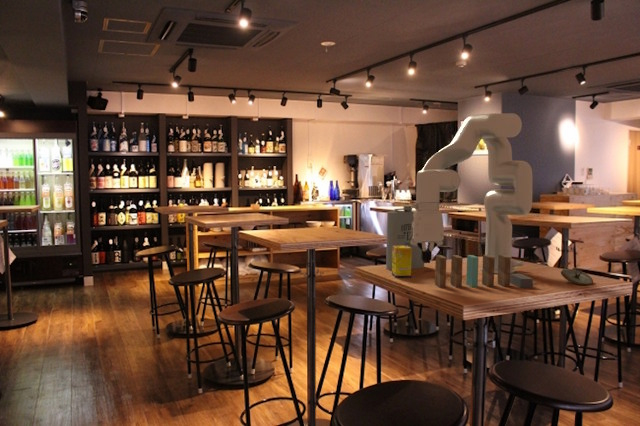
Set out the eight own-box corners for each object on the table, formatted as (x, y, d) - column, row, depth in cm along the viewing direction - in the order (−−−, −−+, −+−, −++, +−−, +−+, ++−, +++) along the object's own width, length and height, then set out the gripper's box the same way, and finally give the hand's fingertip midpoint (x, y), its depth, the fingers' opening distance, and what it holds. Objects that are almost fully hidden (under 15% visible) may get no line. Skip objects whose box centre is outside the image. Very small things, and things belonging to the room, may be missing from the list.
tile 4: (487, 283, 181) (488, 254, 180) (493, 287, 176) (494, 257, 175) (481, 283, 181) (482, 254, 180) (487, 287, 176) (488, 257, 175)
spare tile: (471, 284, 180) (472, 255, 179) (477, 287, 175) (478, 257, 174) (466, 284, 180) (467, 255, 179) (471, 287, 175) (472, 257, 174)
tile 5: (503, 283, 181) (504, 254, 180) (509, 286, 176) (510, 257, 175) (497, 283, 181) (498, 254, 180) (503, 286, 176) (504, 257, 175)
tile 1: (440, 284, 179) (441, 255, 178) (445, 287, 174) (446, 257, 173) (434, 284, 179) (435, 255, 178) (439, 287, 174) (440, 257, 173)
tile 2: (456, 284, 180) (457, 255, 179) (461, 287, 175) (462, 257, 174) (450, 284, 180) (451, 255, 179) (455, 287, 175) (456, 257, 174)
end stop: (519, 282, 184) (520, 273, 184) (532, 287, 175) (532, 278, 175) (508, 282, 184) (509, 273, 183) (521, 287, 175) (521, 278, 174)
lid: (577, 279, 190) (577, 265, 190) (600, 284, 181) (600, 270, 181) (554, 280, 187) (554, 266, 186) (576, 286, 177) (577, 272, 177)
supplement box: (391, 274, 195) (392, 245, 194) (407, 274, 196) (407, 245, 195) (395, 278, 189) (395, 247, 189) (411, 277, 190) (412, 247, 189)
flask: (391, 270, 203) (392, 206, 201) (384, 268, 207) (385, 205, 205) (427, 267, 211) (428, 205, 209) (420, 265, 215) (421, 204, 213)
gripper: (408, 208, 170) (407, 264, 171) (453, 208, 171) (451, 264, 172) (402, 206, 177) (401, 260, 179) (445, 206, 178) (444, 260, 180)
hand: (426, 262), depth 176 cm, fingers closed
